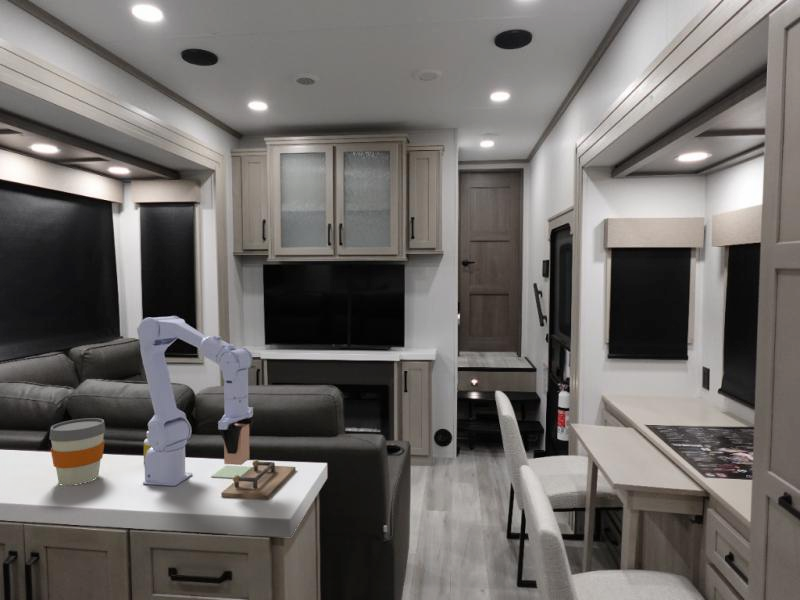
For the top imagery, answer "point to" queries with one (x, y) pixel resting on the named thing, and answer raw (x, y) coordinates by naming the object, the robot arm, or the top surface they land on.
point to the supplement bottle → (146, 446)
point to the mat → (231, 471)
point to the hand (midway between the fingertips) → (237, 449)
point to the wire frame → (258, 481)
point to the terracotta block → (239, 448)
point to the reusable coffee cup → (77, 449)
